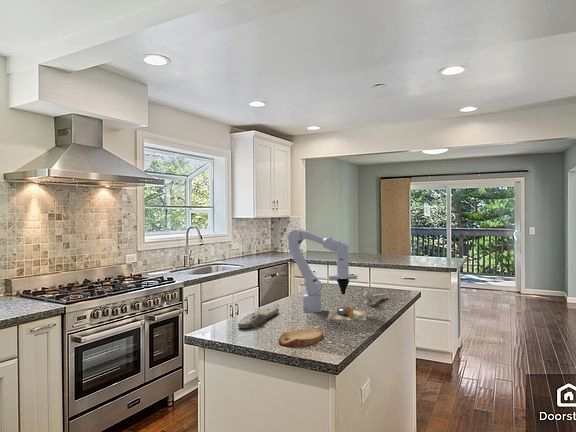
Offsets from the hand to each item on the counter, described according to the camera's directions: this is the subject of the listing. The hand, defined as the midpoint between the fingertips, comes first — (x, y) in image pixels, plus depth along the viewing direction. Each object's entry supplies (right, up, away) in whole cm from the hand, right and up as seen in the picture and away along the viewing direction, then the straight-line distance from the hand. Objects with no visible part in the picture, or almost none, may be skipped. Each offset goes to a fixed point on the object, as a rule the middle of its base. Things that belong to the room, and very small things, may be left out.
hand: (343, 294), depth 196 cm
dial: (+1, -9, -8) cm, 11 cm away
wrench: (+22, -10, +24) cm, 34 cm away
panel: (+1, -10, -6) cm, 12 cm away
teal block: (+4, -9, -15) cm, 17 cm away
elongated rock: (-41, -11, -10) cm, 44 cm away
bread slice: (-23, -11, -40) cm, 47 cm away
